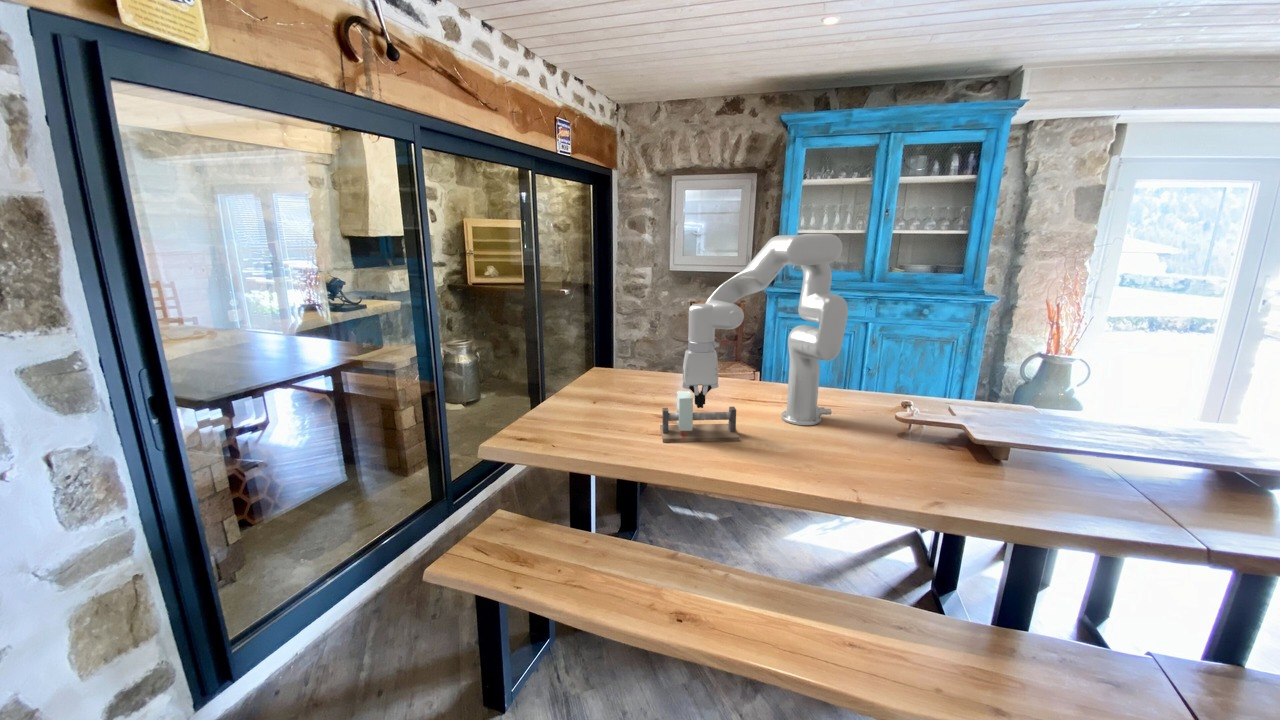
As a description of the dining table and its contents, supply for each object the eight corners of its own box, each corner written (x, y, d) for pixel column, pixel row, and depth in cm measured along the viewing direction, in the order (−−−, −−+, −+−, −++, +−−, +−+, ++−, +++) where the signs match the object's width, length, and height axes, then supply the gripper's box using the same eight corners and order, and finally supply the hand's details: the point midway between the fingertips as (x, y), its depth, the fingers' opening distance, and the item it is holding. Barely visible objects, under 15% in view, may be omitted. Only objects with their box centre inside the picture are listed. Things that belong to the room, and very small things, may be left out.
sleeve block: (689, 422, 157) (689, 391, 155) (692, 430, 150) (692, 398, 148) (676, 422, 157) (677, 391, 155) (679, 430, 150) (679, 398, 148)
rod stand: (731, 427, 160) (732, 402, 158) (739, 440, 149) (740, 414, 147) (660, 428, 160) (660, 403, 158) (662, 442, 149) (662, 415, 147)
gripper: (724, 343, 149) (722, 402, 153) (674, 344, 149) (673, 403, 153) (729, 349, 142) (727, 410, 146) (676, 350, 141) (676, 411, 146)
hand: (699, 406), depth 150 cm, fingers closed
